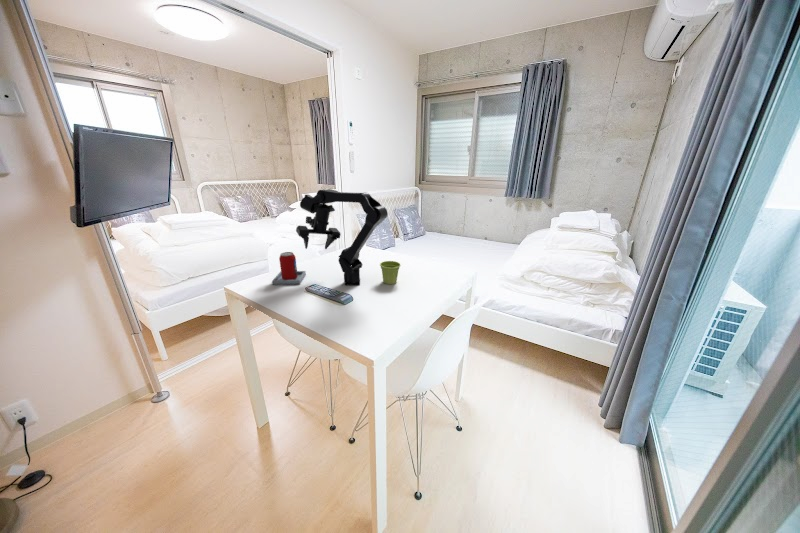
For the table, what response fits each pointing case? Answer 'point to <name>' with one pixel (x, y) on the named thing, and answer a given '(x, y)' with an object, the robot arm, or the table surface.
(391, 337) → the table surface
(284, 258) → the beverage can
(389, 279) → the plant pot
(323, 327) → the table surface
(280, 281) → the slate tray
